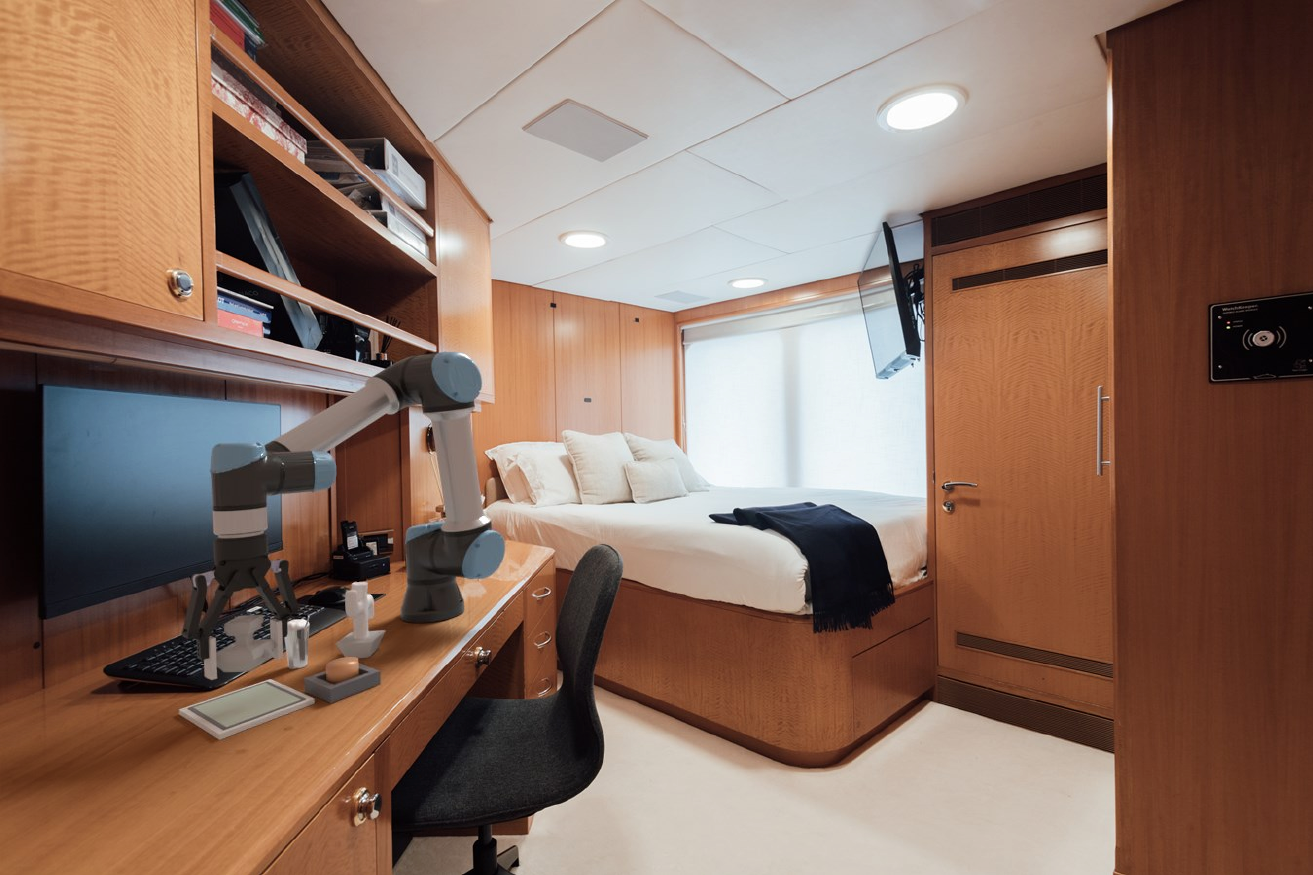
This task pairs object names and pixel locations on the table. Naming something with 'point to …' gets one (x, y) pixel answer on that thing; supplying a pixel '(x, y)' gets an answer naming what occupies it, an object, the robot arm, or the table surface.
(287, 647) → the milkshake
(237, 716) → the board
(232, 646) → the stamp
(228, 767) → the table surface
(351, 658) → the button
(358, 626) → the figurine
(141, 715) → the table surface
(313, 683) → the button housing
